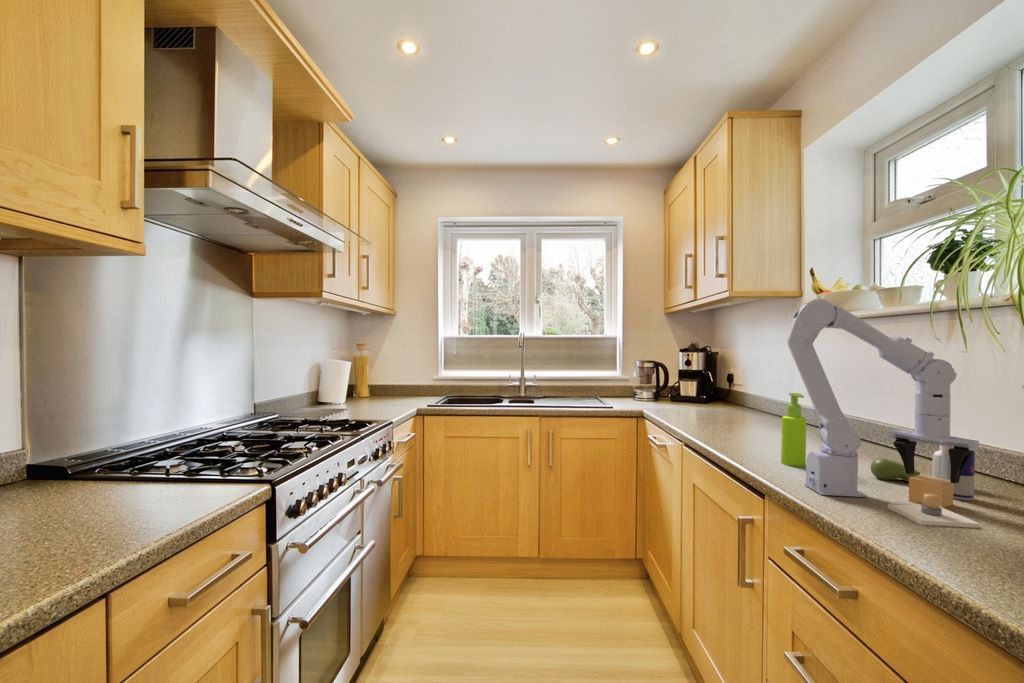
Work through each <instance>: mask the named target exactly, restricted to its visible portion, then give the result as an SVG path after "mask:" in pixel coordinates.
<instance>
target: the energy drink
mask: <svg viewBox="0 0 1024 683" xmlns="http://www.w3.org/2000/svg"><path fill="white" fill-rule="evenodd" d="M949 449H954V447H948V446H942V473H941V479H946V480H950V473H951V463H950V456H949ZM975 452H976V451H974V453H973V454H972V456H971V457H970V458H969V460H968V461H967V463H966V464H965V466H964V468H963V470H962V473H961V476H960V480H959V483H956V484H955V483H954V485H953V500H955V501H963V502H964V501H965V502H972V501H973V500H974V499H975V467H976V466H975V464H976V463H975V457H976V456H975V454H976V453H975Z"/></svg>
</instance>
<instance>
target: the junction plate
mask: <svg viewBox="0 0 1024 683" xmlns="http://www.w3.org/2000/svg"><path fill="white" fill-rule="evenodd" d="M887 508H888V509H889V510H891V511H892V512H895V513H897V514H898V515H901V516H903V517H905V518H907V519H909V520H911V521H913V522H915V523H917V524H918V525H921V526H935V527H936V526H938V527H955V528H956V527H957V528H960V527H961V528H971V529H972V528H975V529H976V528H977V529H979V528H980V523H979V522H977V521H975V520H972V519H970V518H968V517H966V516H963V515H960V514H958V513H956V512H953V511H951V510H949V509H947V508H942V507H940V496H938V495H934V494H924V498H923V504H920V505H910V504H908V505H907V504H905V505H904V504H889V503H888V504H887Z"/></svg>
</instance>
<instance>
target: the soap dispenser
mask: <svg viewBox="0 0 1024 683" xmlns="http://www.w3.org/2000/svg"><path fill="white" fill-rule="evenodd" d="M788 396H790V403H789V404H787V405H786V408H787V409H786V410H787V411H786V415H783V416H782V417H781V448H780V449H781V453H780V455H781V456H780V457H781V459H780V460H781V461H780V463H781V464H783V465H785V466H790V467H795V468H796V467H798V468H801V467H803V468H804V467H805V466H806V460H807V457H806V456H807V455H806V454H807V453H806V452H807V451H806V450H807V418H806V417H803V416H802V405H801V404H800V403H799V398H802V399H803V398H804V397H805V396H804V395H803V394H802V393H798V392H789V393H788Z"/></svg>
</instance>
